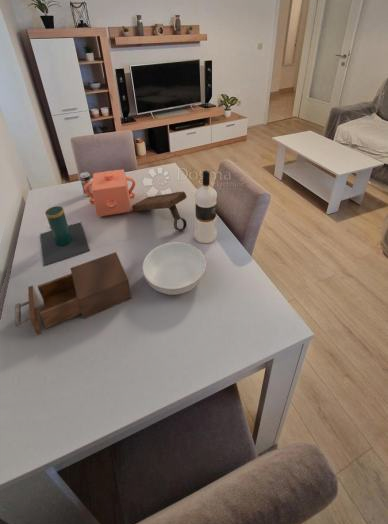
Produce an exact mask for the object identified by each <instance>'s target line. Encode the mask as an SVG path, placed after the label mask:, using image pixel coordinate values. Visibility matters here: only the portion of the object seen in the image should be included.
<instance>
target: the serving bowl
mask: <svg viewBox="0 0 388 524" xmlns="http://www.w3.org/2000/svg"><path fill="white" fill-rule="evenodd" d="M206 267H207V262H206V258H205V255H204V253H203V252H202V251H201V250H200V249H199V248H198V247H196V246H195V245H193V244H190V243H188V242H181V241H173V242H167V243H162V244H160V245H158V246H156V247H155V248H153V249H152V250H150V251H149V252H148V254H147V255H146V256H145V257H144V260H143V262H142V273H143V276H144V279H145V280H146V282H147V284H148V285H149V286H150V287H151V288H152V289H153V290H155V291H156V292H159V293H161V294H165V295H175V296H176V295H181V294H184V293H187V292H189V291H191V290H193V289H194V288H195V287H196V286H197V285H199V283H200V282H201V281H202V279H203V278H204V275H205V272H206Z"/></svg>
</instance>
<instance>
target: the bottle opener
mask: <svg viewBox="0 0 388 524" xmlns="http://www.w3.org/2000/svg"><path fill="white" fill-rule="evenodd" d="M187 198H188V197H187V193H186V192H185V191H177V192H170V193H165V194H158V195H152V196H148V197H146V198H144V199H142V200H139V201H137V202H136V203H134V204H132V205H131V208H132V211H133V212H140V211H151V210H160V209H161V210H162V209H169V211H170V213H171V214H170V215H171V216H172V218H173V228H174V229H175V231H177V232H182V231H184V230H186V228H187V226H188V224H187V223H188V222H187V220H186V219H185V218H184V217H181V215H180V212H179V210H178V208H177V204H179V203H180V202H182V201H184V200H186V199H187ZM179 220H181V221H182V223H183V224H182V227H181V229H180V228H179V226H178V221H179Z"/></svg>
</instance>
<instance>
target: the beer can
mask: <svg viewBox="0 0 388 524" xmlns="http://www.w3.org/2000/svg"><path fill="white" fill-rule="evenodd" d="M79 179H80V184H81V188H82V191H83V195H84V197H90V196H89V195H87V194H86V192H85V190H84V187H85V185H86V184H87V183H89V182H92V178H91V175H90V172H88V171H83V172H80V174H79ZM87 189H88V191H89V192H90V193H92V194H93V192H92V185H90V186H89V187H88V188H87Z"/></svg>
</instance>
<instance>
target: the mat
mask: <svg viewBox="0 0 388 524" xmlns="http://www.w3.org/2000/svg"><path fill="white" fill-rule="evenodd" d="M68 227H69V231H70V234H71V237H72V241H71V243H70V244H68V245H66V246H62V247H60V246H57V245H56V243H55V240H54V237H53V234H52V231H51V230H48V231H46V232H42V233H40V234H39V235H40V244H41V250H42V251H41V252H42V261H43V262H42V263H43V266H44V267H46V266H49V265H52V264H55V263H58V262H61V261H65V260H68V259H70V258H73V257H76V256H78V255H81V254H85V253H87V252H90V246H89V244H88V241H87V238H86V234H85V232H84V231H85V230H84V228H83V226H82V222H81V221H80V222H76V223H73V224H68ZM57 261H58V262H57ZM54 262H55V263H54ZM51 263H52V264H51ZM48 264H49V265H48ZM45 265H46V266H45Z"/></svg>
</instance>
